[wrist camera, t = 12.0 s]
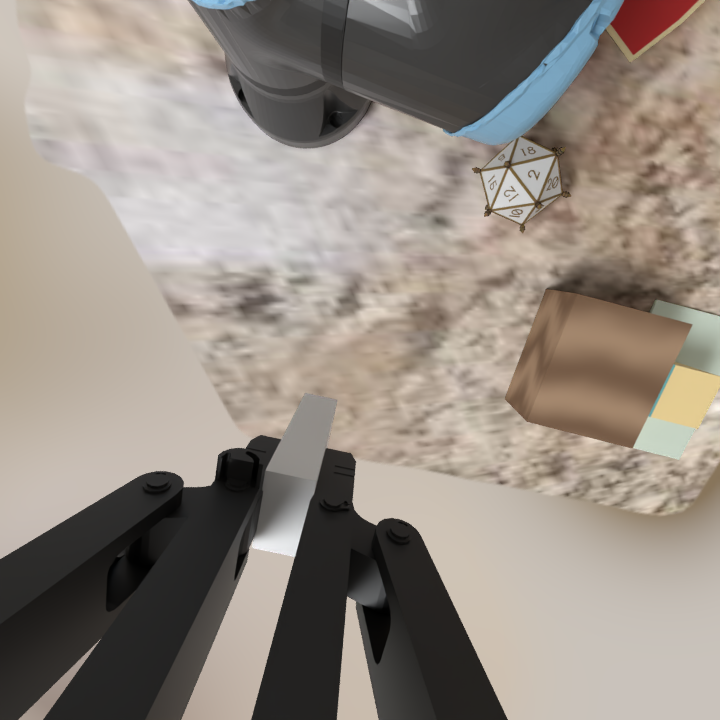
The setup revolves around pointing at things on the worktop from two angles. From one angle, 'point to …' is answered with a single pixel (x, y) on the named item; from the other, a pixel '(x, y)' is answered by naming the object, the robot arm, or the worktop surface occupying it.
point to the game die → (522, 180)
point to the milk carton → (647, 23)
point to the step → (594, 366)
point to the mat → (701, 351)
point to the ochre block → (685, 396)
